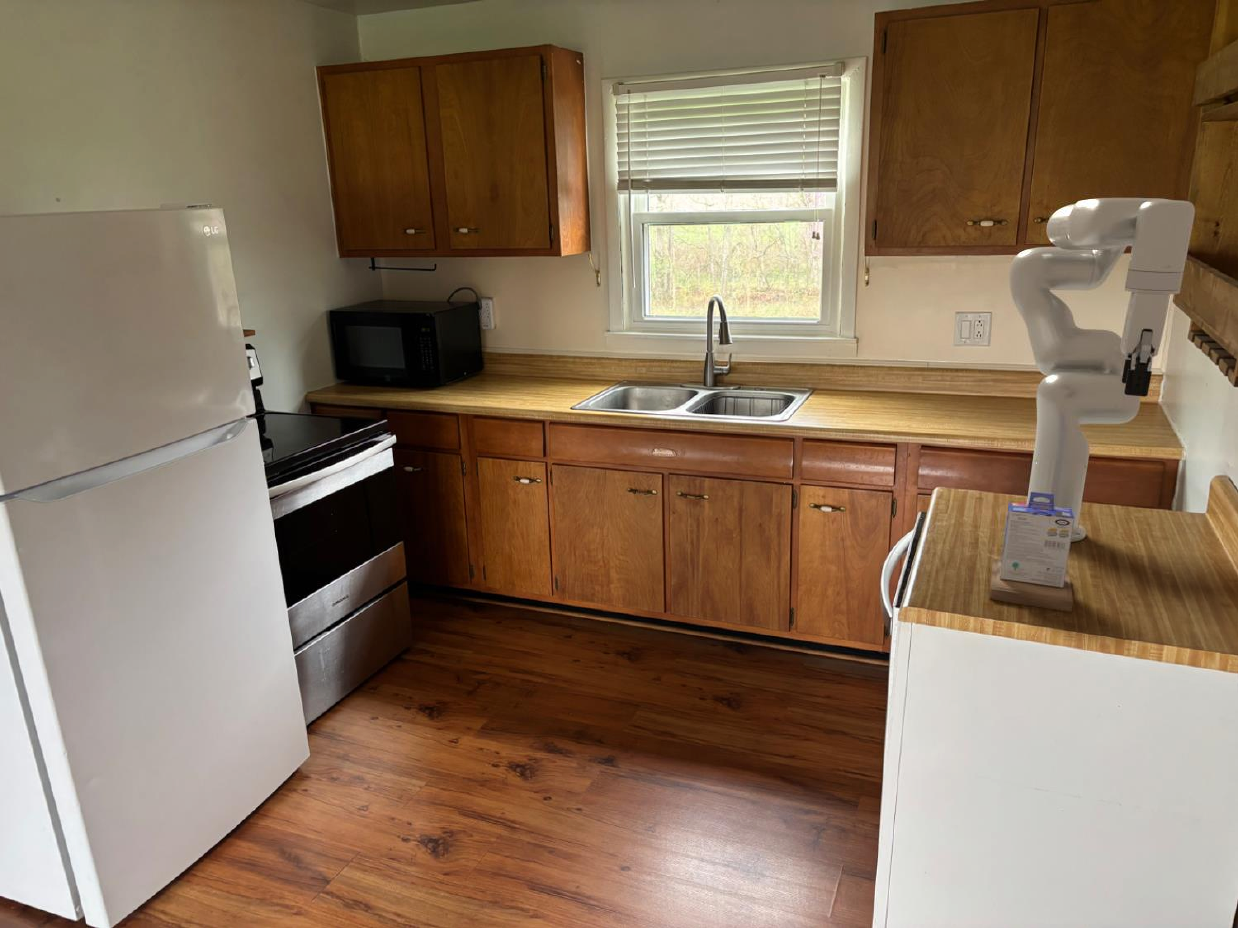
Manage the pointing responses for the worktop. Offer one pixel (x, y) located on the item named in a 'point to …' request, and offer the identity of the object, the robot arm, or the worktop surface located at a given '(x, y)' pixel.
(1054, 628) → the worktop surface
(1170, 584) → the worktop surface
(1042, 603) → the board
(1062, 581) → the ink cartridge box
